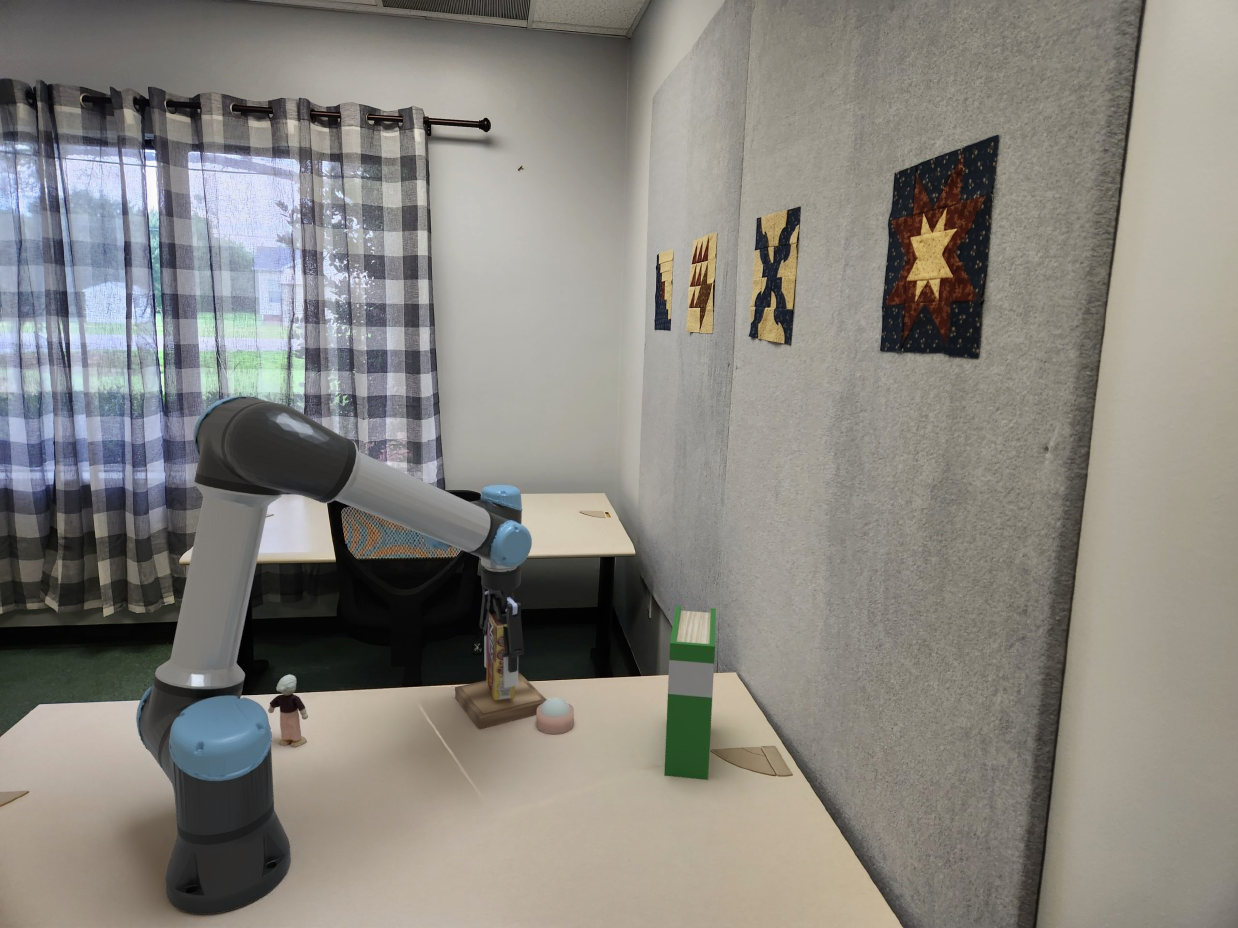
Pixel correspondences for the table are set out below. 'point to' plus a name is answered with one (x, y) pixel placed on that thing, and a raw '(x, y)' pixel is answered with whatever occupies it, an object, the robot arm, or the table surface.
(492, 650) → the candy box
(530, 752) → the table surface
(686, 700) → the hardback book
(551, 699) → the pincushion
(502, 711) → the brown tray
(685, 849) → the table surface
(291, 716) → the grandmother figurine
